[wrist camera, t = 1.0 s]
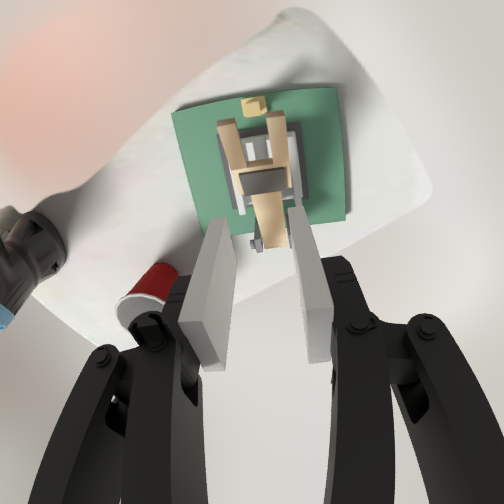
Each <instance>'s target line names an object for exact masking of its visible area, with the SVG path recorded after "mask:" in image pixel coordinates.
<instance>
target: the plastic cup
mask: <svg viewBox="0 0 504 504" xmlns="http://www.w3.org/2000/svg"><path fill="white" fill-rule="evenodd" d="M178 277H179V276H178V273H177V271H176V270H175V269H174V268H173V267H172V266H170V265H168V264H165V263H157V264H155V265H153V266H152V267H151V268H150V269H149V270H148V271H147V272H146V274H144V275H143V276H142V278H141V279H140V280H139V281H138V282H137V284H136V285H135V286H134V287H133V289H132V290H131V291H129V293H128V294H127V295H126V296H125V297H123V298H121V299H120V300H119V301H118V303H117V305H116V306H115V317H116V319H117V321H118V322H119V324H120V326H121V327H122V328H123V329H124V330H125V331H127V332H128V333H129V334H131V333H130V332H129V330H128V327H129V325H130V323H131V322H132V321H133V320H134V318H135V317H137V316H138V315H140V314H142V313H144V312H147V311H159V312H162V309H163V307H164V304H165V303H166V302H165V301H166V298H167V296H168V293H169V291H170V288H171V285H172V284H173V283H174V282H175V281H176V280H177V278H178Z"/></svg>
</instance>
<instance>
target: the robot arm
mask: <svg viewBox="0 0 504 504" xmlns="http://www.w3.org/2000/svg"><path fill="white" fill-rule="evenodd" d="M288 216H289V224H290V232H291V241H292V250H293V258H294V264H295V270H296V276H297V282H298V289H299V296H300V302H301V308H302V315H303V323H304V331H305V337H306V346H307V353H308V360H309V364H313V363H320V362H328V361H331V357H332V363H333V371H332V380H331V383H332V409H331V431H330V446H329V459H328V470H327V480H326V488H325V498H324V504H394V495H395V437H394V419H393V407H392V396H391V387H392V389H393V392H394V394H395V397H396V400H397V402H398V405H399V407H400V410H401V413H402V416H403V418H404V421H405V424H406V427H407V430H408V433H409V436H410V439H411V442H412V445H413V448H414V451H415V454H416V457H417V460H418V463H419V467H420V470H421V474H422V477H423V481H424V484H425V488H426V492H427V496H428V500H429V504H504V437H503V434H502V432H501V429H500V427H499V424H498V422H497V420H496V417H495V415H494V413H493V411H492V408H491V406H490V404H489V402H488V400H487V398H486V396H485V394H484V392H483V390H482V388H481V386H480V384H479V382H478V380H477V378H476V376H475V374H474V373H473V371H472V369H471V367H470V366H469V364H468V362H467V360H466V359H465V357H464V355H463V353H462V352H461V350H460V348H459V346H458V345H457V343H456V342H455V340H454V338H453V337H452V335H451V334H450V332H449V330H448V329H447V327H446V326H445V324H444V323H443V322H442V321H441V320H440V319H439V318H438V317H436V316H434V315H432V314H426V313H424V314H418V315H416V316H414V317H412V318H411V319H410V321H409V322H408V324H394V323H387V322H384V321H381V320H379V318H378V317H377V316H376V315H375V314H374V313H373V312H370V310H369V308H368V306H367V303H366V301H365V298H364V295H363V293H362V291H361V288H360V286H359V283H358V281H357V278H356V276H355V274H354V271H353V268H352V266H351V264H350V262H348V261H347V260H346V259H345V258H344V257H342V256H335V257H327V258H320V256H319V253H318V249H317V246H316V243H315V240H314V236H313V233H312V230H311V227H310V224H309V221H308V218H307V215H306V212H305V209H304V206H298V207H291V208H288ZM64 262H65V248H64V244H63V241H62V239H61V237H60V235H59V233H58V231H57V230H56V228H55V227H54V226H53V224H52V223H51V222H50V221H49V220H48V219H47V218H45V217H44V216H43V215H41V214H39V213H37V212H26V213H25V214H23V215H22V216H21V217H20V218H18V219H17V221H16V222H15V224H14V226H13V227H12V229H11V231H10V233H9V235H8V237H7V238H6V240H5V241H4V242H3V240H2V238H1V235H0V331H3V330H5V329H6V328H7V326H8V325H9V324H10V323H11V321H12V320H13V319H14V318H15V316H16V314H17V313H18V311H19V310H20V308H21V307H22V305H23V304H24V303H25V301H26V300H27V298H28V297H29V296H30V294H31V293H32V292H33V290H34V289H35V288H36V286H37V285H38V284H39V283H41V282H43V281H45V280H46V279H48V278H50V277H52V276H54V275H55V274H56V273H58V271H59V270H60V269H61V268H62V266H63V265H64ZM236 270H237V259H236V255H235V251H234V247H233V243H232V239H231V235H230V231H229V227H228V223H227V219H226V217H221V218H214V219H211V220H210V223H209V226H208V228H207V231H206V234H205V237H204V240H203V243H202V246H201V249H200V252H199V255H198V258H197V261H196V264H195V267H194V270H193V274H192V275H188V276H179V277H178V278H177V280H176V281H175V282H174V283H173V284H172V285H171V288H170V291H169V293H168V296H167V298H166V301H165V302H166V303H165V304H164V307H163V309H162V312H159V311H147V312H144V313H142V314H140V315H138V316H137V317H135V318H134V320H133V321H132V322H131V323H130V325H129V327H128V330H129V332H130V333H131V335H132V336H133V338H134V339H135V341H136V342H137V343H138V345H139V347H136V348H133V349H129V350H125V351H122V352H119V351H118V349H117V348H116V347H115V346H113V345H111V344H104V345H102V346H100V347H98V348H97V349H95V350H94V351H93V352H92V353H91V355H90V356H89V358H88V360H87V362H86V364H85V366H84V367H83V369H82V371H81V373H80V375H79V377H78V379H77V381H76V383H75V385H74V387H73V389H72V392H71V393H70V396H69V397H68V400H67V402H66V404H65V406H64V408H63V410H62V413H61V415H60V417H59V419H58V422H57V424H56V426H55V429H54V431H53V433H52V436H51V438H50V441H49V443H48V446H47V448H46V451H45V453H44V456H43V459H42V461H41V464H40V467H39V470H38V473H37V475H36V479H35V482H34V485H33V488H32V491H31V494H30V498H29V501H28V504H119V502H120V499H121V504H208V496H207V483H206V468H205V453H204V430H203V398H202V381H201V377H200V376H199V374H198V373H199V367H200V364H201V366H202V368H203V369H204V371H225V366H226V356H227V348H228V339H229V330H230V321H231V312H232V304H233V295H234V287H235V278H236ZM390 384H391V387H390ZM113 395H114V396H115V399H114V400H113V401H112V402H111V400H112V397H113Z"/></svg>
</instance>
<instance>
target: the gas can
mask: <svg viewBox="0 0 504 504" xmlns="http://www.w3.org/2000/svg"><path fill="white" fill-rule="evenodd" d="M8 235H9V232H8V230H6V231H5V232H4V233H3V234H2V235H1V238H2V240H3V242H4V241H5V240H6V238H7V237H8Z"/></svg>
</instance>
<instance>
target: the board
mask: <svg viewBox="0 0 504 504" xmlns="http://www.w3.org/2000/svg"><path fill="white" fill-rule="evenodd" d="M280 110H284V114H285V120H286V129H287V139H288V149H289V161H290V172H291V185H292V187H290V188H286V191H281V194H282V202H283V210H284V219H285V228H287V232H288V238H289V244H290V248H292V241H291V232H290V224H289V216H288V208H291V207H298V206H304V209H305V212H306V215H307V218H308V221H309V224H310V225H314V224H322V223H330V222H338V221H346V215H345V180H344V161H343V147H342V134H341V124H340V114H339V105H338V97H337V90H336V87H326V88H310V89H298V90H288V91H279V92H271V93H263V94H257V95H250V96H244V97H239V98H233V99H228V100H223V101H218V102H213V103H209V104H205V105H200V106H196V107H192V108H188V109H184V110H181V111H177V112H173V113H171V116H172V120H173V124H174V128H175V132H176V136H177V140H178V144H179V148H180V152H181V156H182V160H183V163H184V167H185V171H186V175H187V178H188V182H189V186H190V189H191V193H192V197H193V200H194V204H195V207H196V211H197V214H198V218H199V221H200V225H201V228H202V231H203V235H204V237H205V234H206V231H207V228H208V226H209V223H210V220H211V219H214V218H221V217H226V219H227V223H228V227H229V231H230V235H238V234H245V233H253V232H255V233H254V240H250V244H251V249H256V251H257V253H259V252H263V239H262V236H261V232H260V228H259V225H258V221H257V217H256V214H255V210H254V206H253V203H252V199H251V195H250V196H245V195H244V194H241V195H239V193H238V190H237V187H236V184H235V181H234V178H233V175H232V172H231V169H230V166H229V163H228V160H227V157H226V154H225V151H224V148H223V145H222V142H221V139H220V136H219V133H218V130H217V121H219V120H224V119H229V118H234V117H235V120H236V124H237V127H238V131H239V135H240V139H241V142H242V146H243V150H244V154H245V158H246V161H254V160H260V159H267V158H272V152H271V145H270V139H269V133H268V127H267V121H266V115H265V112H272V111H280Z"/></svg>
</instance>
